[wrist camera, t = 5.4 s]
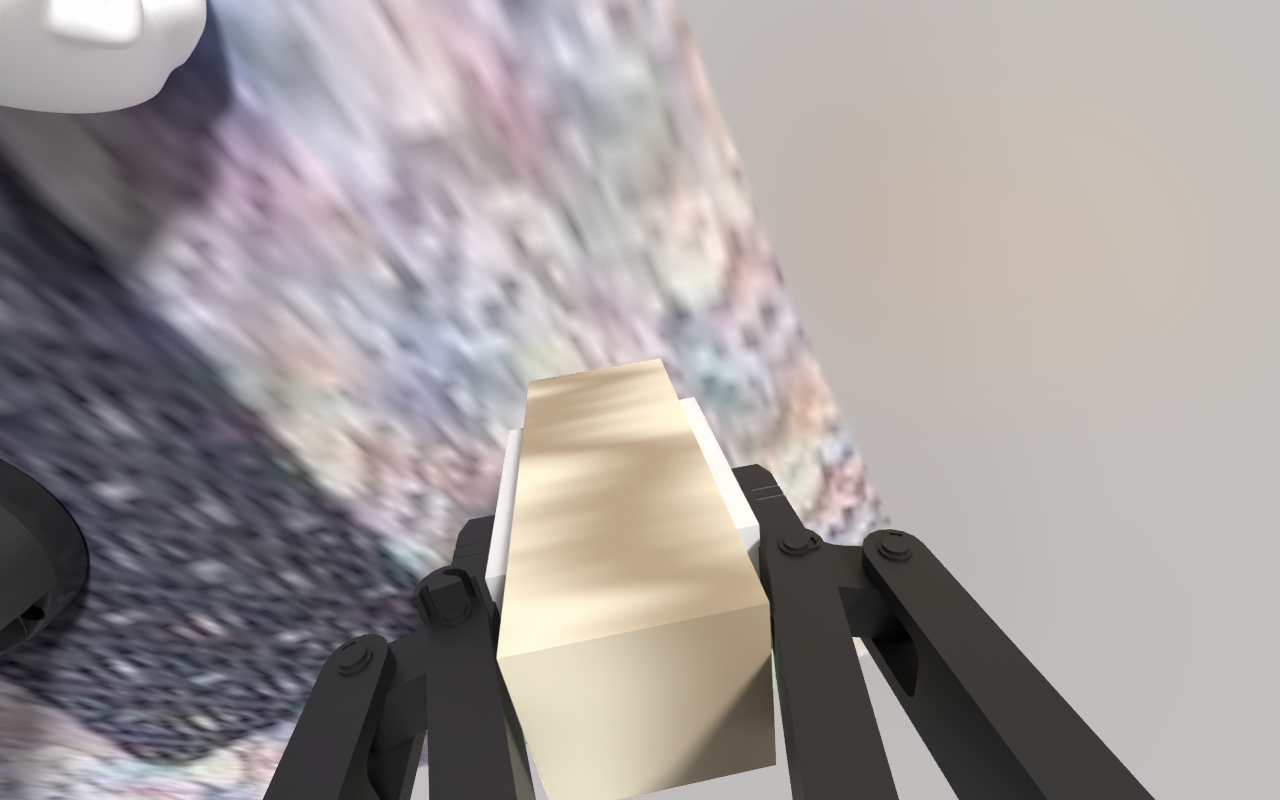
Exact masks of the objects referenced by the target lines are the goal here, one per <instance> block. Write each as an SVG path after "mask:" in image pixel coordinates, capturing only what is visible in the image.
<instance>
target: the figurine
mask: <svg viewBox="0 0 1280 800" xmlns="http://www.w3.org/2000/svg"><path fill="white" fill-rule="evenodd" d="M205 23H206V0H0V105H1V106H7V107H13V108H19V109H26V110H34V111H42V112H53V113H75V114H81V113H100V112H108V111H114V110H120V109H124V108H128V107H132V106H135V105H138V104H141V103H143V102H145V101H147V100H149V99H151V98H153V97H154V96H155V95H157V94H158V93H159V91H160V90H161V89H162V87H163V86H164V84H165V82H166V80H167V78H168V76H169V75H170V73H171V72H172V71H173V70H174V69H175V68H177V67H178V66H180V65H182V64H183V63H185V62H186V60H187V59H188V58H189V57H190V55H191V54H192V52H193V50H194V48H195V47H196V45H197V43H198V41H199V39H200V37H201V35H202V33H203V30H204V27H205Z"/></svg>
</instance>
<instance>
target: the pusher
mask: <svg viewBox="0 0 1280 800" xmlns="http://www.w3.org/2000/svg"><path fill="white" fill-rule="evenodd" d="M496 659H497V662H498V664H499V667H500V670H501V673H502V675H503V678H504V681H505V683H506V686H507V689H508V692H509V694H510V697H511V700H512V703H513V705H514V708H515V711H516V713H517V716H518V719H519V722H520V724H521V727H522V730H523V733H524V735H525V738H526V741H527V743H528V746H529V749H530V751H531V754H532V757H533V760H534V762H535V765H536V768H537V770H538V773H539V776H540V779H541V782H542V784H543V787H544V790H545V792H546V795H547V798H548V800H619V799H624V798H629V797H633V796H637V795H642V794H647V793H651V792H656V791H659V790H665V789H669V788H673V787H678V786H683V785H687V784H692V783H696V782H701V781H705V780H710V779H714V778H718V777H723V776H727V775H732V774H737V773H741V772H745V771H750V770H755V769H759V768H764V767H768V766H773V765H776V752H775V727H774V703H773V677H772V652H771V627H770V603H769V601H768V598H767V596H766V594H765V592H764V589H763V587H762V585H761V583H760V580H759V578H758V576H757V574H756V571H755V569H754V567H753V565H752V562H751V560H750V558H749V556H748V554H747V551H746V549H745V547H744V545H743V542H742V540H741V538H740V536H739V533H738V531H737V529H736V527H735V524H734V522H733V520H732V518H731V516H730V513H729V511H728V509H727V507H726V504H725V502H724V500H723V498H722V495H721V493H720V491H719V489H718V486H717V484H716V482H715V480H714V477H713V475H712V473H711V471H710V469H709V466H708V464H707V462H706V460H705V457H704V455H703V453H702V451H701V448H700V446H699V444H698V442H697V439H696V437H695V435H694V433H693V430H692V428H691V426H690V424H689V422H688V419H687V417H686V415H685V413H684V410H683V408H682V406H681V404H680V401H679V399H678V397H677V395H676V392H675V390H674V388H673V386H672V384H671V381H670V379H669V377H668V375H667V372H666V370H665V368H664V366H663V363H662V361H661V359H655V360H649V361H644V362H638V363H632V364H627V365H621V366H615V367H610V368H604V369H598V370H593V371H587V372H581V373H576V374H570V375H564V376H559V377H553V378H547V379H541V380H536V381H530V382H529V387H528V396H527V404H526V413H525V421H524V430H523V438H522V446H521V455H520V463H519V472H518V480H517V489H516V497H515V506H514V514H513V523H512V531H511V540H510V548H509V556H508V565H507V573H506V582H505V590H504V599H503V607H502V616H501V624H500V633H499V641H498V649H497V658H496Z"/></svg>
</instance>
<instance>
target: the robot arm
mask: <svg viewBox="0 0 1280 800" xmlns="http://www.w3.org/2000/svg"><path fill="white" fill-rule="evenodd" d="M679 401H680V404H681V406H682V408H683V410H684V413H685V415H686V417H687V419H688V422H689V424H690V426H691V428H692V430H693V433H694V435H695V437H696V439H697V442H698V444H699V446H700V448H701V451H702V453H703V455H704V457H705V460H706V462H707V464H708V466H709V469H710V471H711V473H712V475H713V477H714V480H715V482H716V484H717V486H718V489H719V491H720V493H721V495H722V498H723V500H724V502H725V504H726V507H727V509H728V511H729V513H730V516H731V518H732V520H733V522H734V524H735V527H736V529H737V531H738V533H739V536H740V538H741V540H742V542H743V545H744V547H745V549H746V551H747V554H748V556H749V558H750V560H751V562H752V565H753V567H754V569H755V571H756V574H757V576H758V578H759V580H760V583H761V585H762V587H763V589H764V592H765V594H766V596H767V598H768V601H769V603H770V627H771V649H773V656H774V664H775V671H776V679H777V686H778V693H779V700H780V707H781V716H782V723H783V730H784V738H785V745H786V753H787V760H788V768H789V775H790V782H791V789H792V797H793V800H899V799H898V795H897V791H896V788H895V784H894V781H893V778H892V774H891V770H890V767H889V764H888V760H887V757H886V753H885V751H884V747H883V743H882V740H881V736H880V733H879V729H878V725H877V722H876V718H875V715H874V712H873V708H872V705H871V702H870V698H869V694H868V691H867V687H866V684H865V680H864V677H863V673H862V670H861V666H860V663H859V660H858V656H857V653H856V649H855V646H854V642H853V639H852V637H860V638H861V640H862V641H863V643H864V645H865V646H866V648H867V650H868V651H869V653H870V655H871V656H872V658H873V660H874V661H875V663H876V664H877V666H878V668H879V669H880V671H881V672H882V674H883V676H884V677H885V679H886V681H887V682H888V684H889V686H890V687H891V689H892V691H893V692H894V694H895V696H896V697H897V699H898V700H899V702H900V704H901V705H902V707H903V709H904V710H905V712H906V714H907V715H908V717H909V719H910V720H911V722H912V723H913V725H914V727H915V728H916V730H917V732H918V733H919V735H920V736H921V738H922V740H923V741H924V743H925V745H926V746H927V748H928V750H929V751H930V753H931V755H932V756H933V758H934V760H935V761H936V763H937V764H938V766H939V768H940V769H941V771H942V773H943V774H944V776H945V778H946V779H947V781H948V782H949V784H950V786H951V787H952V789H953V791H954V792H955V794H956V796H957V797H958V799H959V800H1155V799H1154V798H1153V797H1152V796H1151V795H1150V794H1149V792H1148V791H1146V789H1145V788H1144V787H1143V786H1142V785H1141V784H1140V783H1139V782H1138V780H1137V779H1136V778H1135V777H1134V776H1133V775H1132V774H1131V773H1130V771H1129V770H1128V769H1127V768H1126V767H1125V766H1124V765H1123V764H1122V763H1121V762H1120V760H1119V759H1118V758H1117V757H1116V756H1115V755H1114V754H1113V753H1112V752H1111V750H1110V749H1109V748H1108V747H1107V746H1106V745H1105V744H1104V743H1103V742H1102V740H1101V739H1100V738H1099V737H1098V736H1097V735H1096V734H1095V733H1094V732H1093V731H1092V730H1091V729H1090V727H1089V726H1088V725H1087V724H1086V723H1085V722H1084V721H1083V720H1082V718H1081V717H1080V716H1079V715H1078V714H1077V713H1076V712H1075V711H1074V710H1073V708H1072V707H1071V706H1070V705H1069V704H1068V703H1067V702H1066V701H1065V700H1064V698H1063V697H1062V696H1061V695H1060V694H1059V693H1058V692H1057V691H1056V690H1055V688H1054V687H1053V686H1052V685H1051V684H1050V683H1049V682H1048V681H1047V680H1046V679H1045V677H1044V676H1043V675H1042V674H1041V673H1040V672H1039V671H1038V670H1037V669H1036V667H1035V666H1034V665H1033V664H1032V663H1031V662H1030V661H1029V660H1028V659H1027V658H1026V657H1025V655H1023V653H1022V652H1021V651H1020V650H1019V649H1018V648H1017V647H1016V645H1015V644H1014V643H1013V642H1012V641H1011V640H1010V639H1009V638H1008V636H1007V635H1005V633H1004V632H1003V631H1002V630H1001V629H1000V628H999V627H998V625H997V624H996V623H995V622H994V621H993V620H992V619H991V618H990V617H989V615H987V613H986V612H985V611H984V610H983V609H982V608H981V607H980V606H979V605H978V603H977V602H976V601H975V600H974V599H973V598H972V597H971V596H970V594H969V593H968V592H967V591H966V590H965V589H964V588H963V587H962V586H961V585H960V583H959V582H958V581H957V580H956V579H955V578H954V577H953V576H952V575H951V573H950V572H949V571H948V570H947V569H946V568H945V567H944V566H943V565H942V563H940V561H939V560H938V559H937V558H936V557H935V556H934V555H933V554H932V553H931V551H930V550H929V549H928V548H927V547H926V546H925V545H924V544H923V543H922V542H921V541H920V540H919V539H917V538H916V537H915V536H913V535H910V534H908V533H906V532H903V531H898V530H892V529H887V530H878V531H875V532H873V533H870V534H869V535H868V536H867V537H866V538H865V539H864V542H863V546H842V545H834V544H830V543H826V542H824V541H823V540H822V538H821V537H820V536H819V535H818V534H816V533H815V532H814V531H811V530H809V529H806V528H805V527H804V526H803V524H802V522H801V521H800V519H799V518H798V516H797V514H796V513H795V511H794V510H793V508H792V506H791V505H790V503H789V502H788V500H787V498H786V497H785V495H783V492H782V490H781V489H780V487H779V486H778V484H777V482H776V481H775V479H774V477H773V476H772V474H771V473H770V472H769V471H767V470H766V469H764V468H763V467H761V466H760V465H758V464H754V465H749V466H743V467H738V468H733V469H731V468H730V466H729V464H728V462H727V460H726V458H725V457H724V455H723V453H722V451H721V449H720V447H719V445H718V443H717V441H716V439H715V437H714V435H713V433H712V431H711V429H710V427H709V425H708V423H707V421H706V419H705V417H704V415H703V413H702V411H701V409H700V407H699V405H698V404H697V402H696V400H695V398H694V397H692V398H686V399H681V400H679ZM523 430H524V428H522V429H516V430H511V431H509V435H508V441H507V447H506V453H505V459H504V466H503V472H502V478H501V484H500V490H499V496H498V502H497V508H496V514H495V515H493V516H487V517H482V518H477V519H472V520H469V521H468V522H467V524H466V525H465V526H464V528H463V529H462V530H461V531H460V533H459V535H458V539H457V543H456V547H455V548H456V550H455V551H454V555H453V561H452V563H451V565H450V566H445V567H442V568H440V569H438V570H435V571H433V572H431V573H430V574H429V575H428V576H426V577H425V578H424V579H422V580H421V582H420V583H419V584H418V586H417V587H416V588H415V591H414V595H413V599H414V602H415V604H416V606H417V608H418V611H419V613H420V615H421V618H422V620H423V622H424V624H425V625H424V626H422V627H421V628H420V629H418V630H416V631H414V632H412V633H411V634H409V635H406V636H404V637H402V638H400V639H398V640H395V641H393V642H391V643H389V644H387V642H386V640H385V638H384V637H382V636H380V635H377V634H365V635H362V636H359V637H356V638H353V639H351V640H349V641H348V642H346V643H344V644H343V645H341V646H340V647H339V648H338V649H337V650H335V651H334V652H333V653H332V654H331V655H330V656H329V658H328V659H327V661H326V662H325V664H324V665H323V667H322V669H321V672H320V674H319V676H318V678H317V681H316V683H315V685H314V687H313V689H312V692H311V694H310V696H309V698H308V700H307V703H306V705H305V707H304V709H303V712H302V714H301V716H300V718H299V720H298V723H297V725H296V727H295V729H294V731H293V734H292V736H291V738H290V740H289V743H288V745H287V747H286V749H285V751H284V754H283V756H282V758H281V760H280V762H279V765H278V767H277V769H276V771H275V773H274V776H273V778H272V780H271V782H270V785H269V787H268V789H267V791H266V793H265V796H264V798H263V800H410V798H411V793H412V789H413V785H414V781H415V776H416V772H417V768H418V763H419V759H420V755H421V750H422V746H423V742H424V737H425V733H426V730H427V729H428V766H429V800H536V798H535V793H534V788H533V783H532V778H531V772H530V767H529V762H528V757H527V752H526V746H525V741H524V736H523V730H522V727H521V724H520V722H519V719H518V716H517V713H516V711H515V708H514V705H513V703H512V700H511V697H510V694H509V692H508V689H507V686H506V683H505V681H504V678H503V675H502V673H501V670H500V667H499V664H498V662H497V659H496V658H497V649H498V641H499V633H500V624H501V616H502V607H503V599H504V590H505V582H506V573H507V565H508V556H509V548H510V540H511V531H512V523H513V514H514V506H515V497H516V489H517V480H518V472H519V463H520V455H521V446H522V438H523ZM86 573H87V555H86V549H85V546H84V542H83V540H82V537H81V535H80V533H79V531H78V529H77V527H76V525H75V524H74V522H73V520H72V519H71V517H70V516H69V515H68V513H67V512H66V511H65V510H64V508H63V507H62V506H61V505H60V504H59V503H58V502H57V501H56V499H55V498H53V497H52V496H51V495H50V494H49V493H48V492H47V491H46V490H45V489H44V488H42V487H41V486H40V485H39V484H38V483H36V482H35V481H34V480H32V479H31V478H30V477H28V476H27V475H25V474H24V473H22V472H21V471H19V470H18V469H16V468H14V467H13V466H11V465H9V464H8V463H6V462H4V461H2V460H0V656H1V655H3V654H4V653H6V652H8V651H10V650H12V649H13V648H15V647H17V646H19V645H21V644H22V643H24V642H26V641H28V640H29V639H31V638H32V637H33V636H35V635H36V634H38V633H39V632H40V631H41V630H43V629H44V628H45V627H46V626H47V625H48V624H49V623H50V622H51V621H52V620H53V619H54V618H55V617H56V616H58V615H59V614H60V613H61V612H62V611H63V610H64V609H65V608H66V607H67V606H68V605H69V604H70V603H71V602H72V601H73V600H74V599H75V597H76V596H77V595H78V593H79V592H80V590H81V588H82V586H83V584H84V581H85V577H86Z"/></svg>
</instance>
